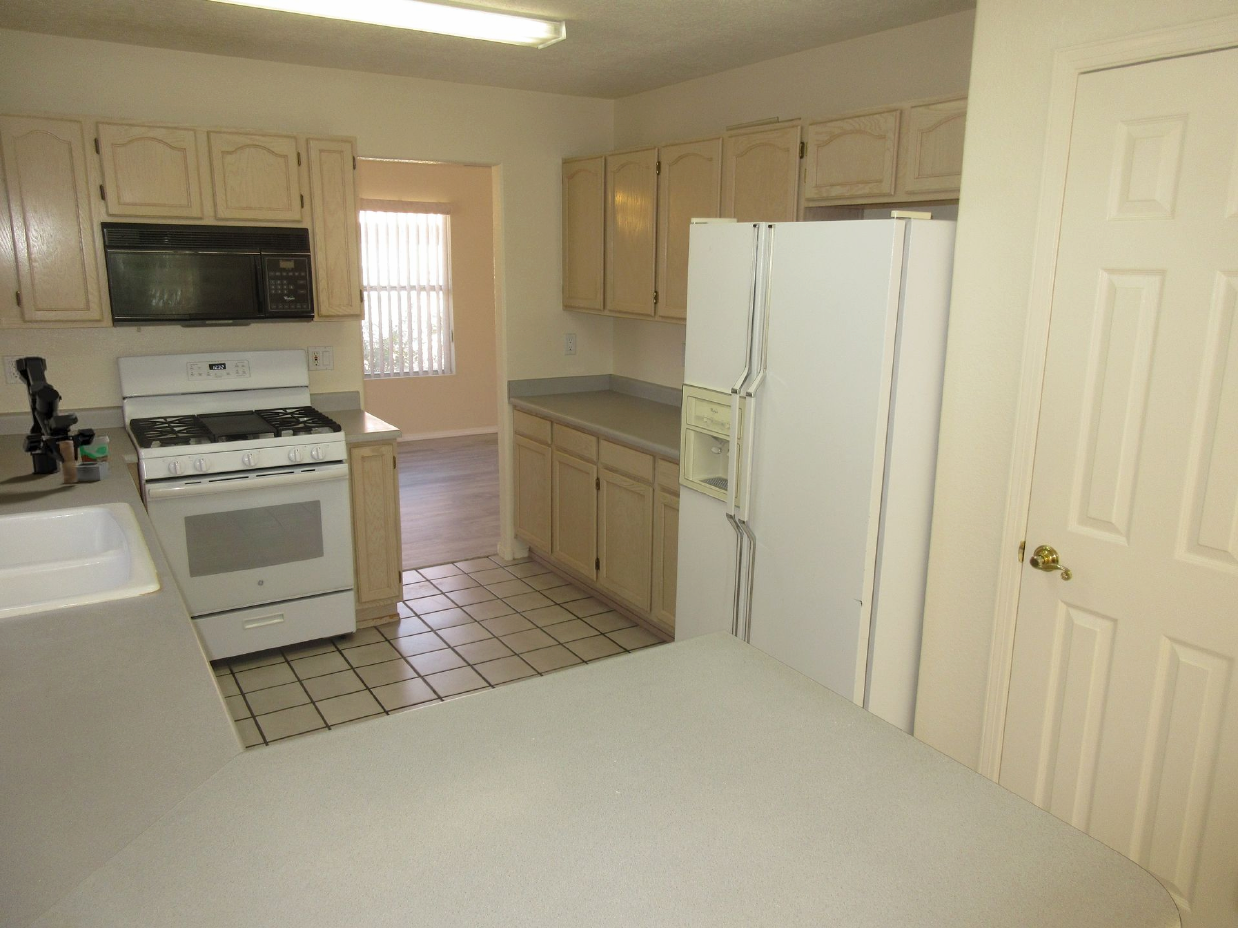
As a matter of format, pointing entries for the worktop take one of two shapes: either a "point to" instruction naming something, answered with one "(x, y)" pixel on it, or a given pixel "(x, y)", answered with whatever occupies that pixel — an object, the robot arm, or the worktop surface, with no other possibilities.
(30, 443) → the robot arm
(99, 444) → the food container
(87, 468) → the block
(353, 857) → the worktop surface
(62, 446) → the dowel
